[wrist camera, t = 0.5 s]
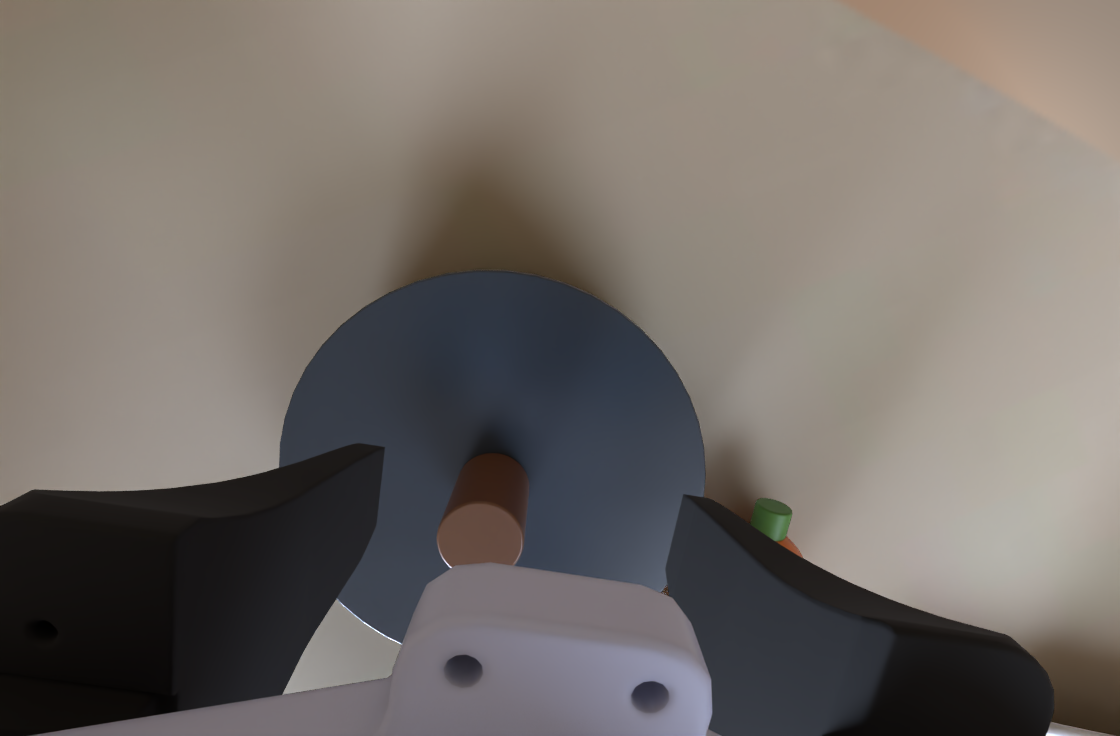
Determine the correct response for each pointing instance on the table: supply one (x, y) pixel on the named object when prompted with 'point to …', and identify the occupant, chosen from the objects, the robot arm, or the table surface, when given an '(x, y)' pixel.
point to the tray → (1071, 731)
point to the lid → (501, 435)
